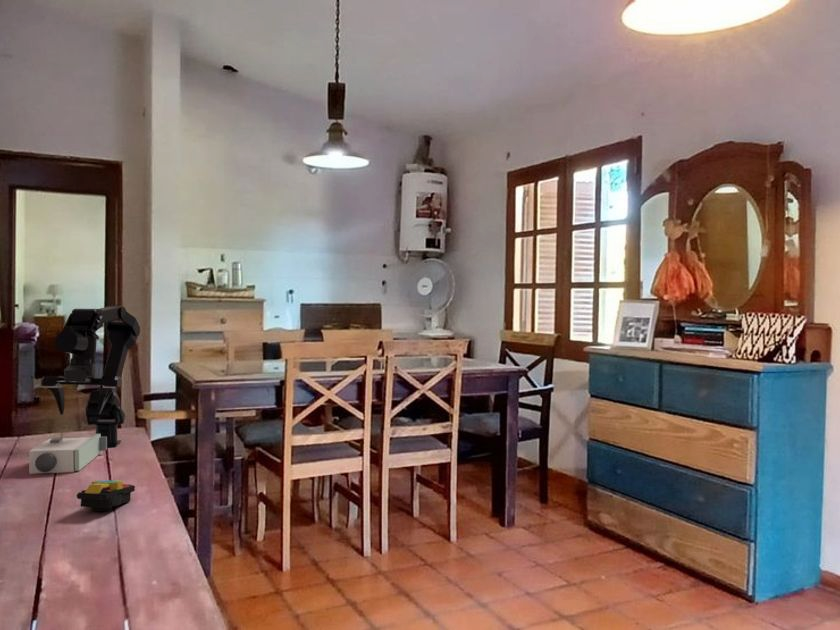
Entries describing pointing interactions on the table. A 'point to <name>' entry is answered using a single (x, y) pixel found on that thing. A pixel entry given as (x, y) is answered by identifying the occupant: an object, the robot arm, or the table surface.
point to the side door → (89, 450)
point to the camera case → (54, 455)
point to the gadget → (105, 494)
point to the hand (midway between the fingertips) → (80, 414)
